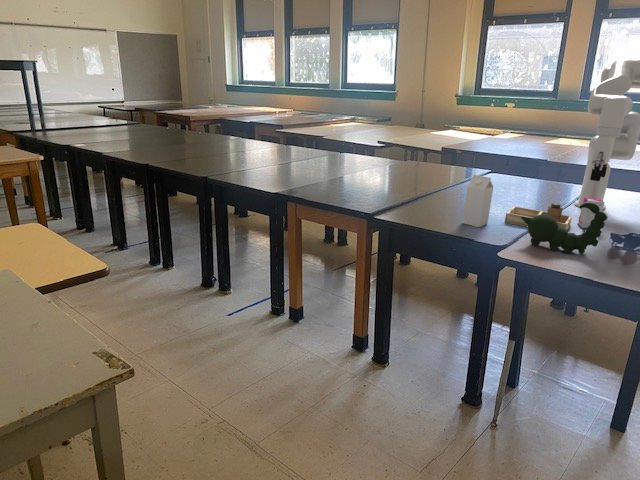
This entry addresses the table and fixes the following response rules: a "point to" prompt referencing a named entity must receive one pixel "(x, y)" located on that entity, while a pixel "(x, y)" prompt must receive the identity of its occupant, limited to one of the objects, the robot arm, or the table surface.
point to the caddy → (553, 211)
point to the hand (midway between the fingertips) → (597, 178)
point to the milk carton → (478, 201)
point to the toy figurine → (565, 231)
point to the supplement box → (589, 212)
